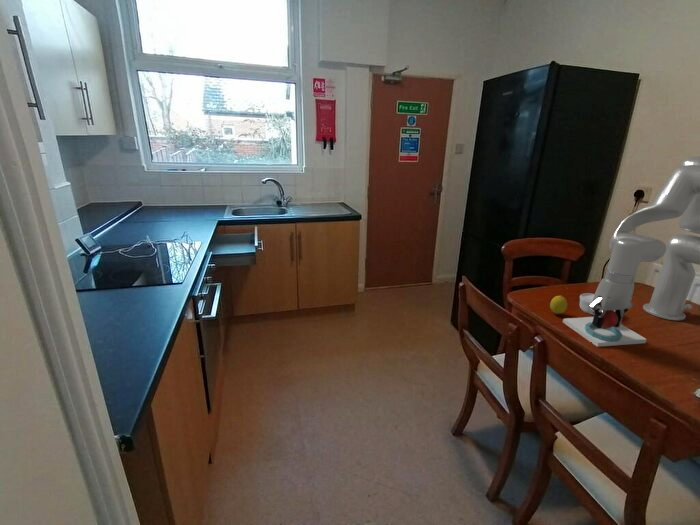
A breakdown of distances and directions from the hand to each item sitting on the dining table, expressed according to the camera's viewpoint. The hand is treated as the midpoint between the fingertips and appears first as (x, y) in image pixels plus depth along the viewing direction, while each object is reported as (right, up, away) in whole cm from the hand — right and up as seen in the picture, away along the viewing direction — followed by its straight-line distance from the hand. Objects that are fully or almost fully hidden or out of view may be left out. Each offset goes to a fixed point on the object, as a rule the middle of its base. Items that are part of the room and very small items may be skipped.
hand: (605, 325), depth 116 cm
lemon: (-6, +1, +17) cm, 18 cm away
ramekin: (+10, +2, +20) cm, 23 cm away
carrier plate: (+2, -3, +5) cm, 6 cm away
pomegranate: (0, -1, 0) cm, 1 cm away
